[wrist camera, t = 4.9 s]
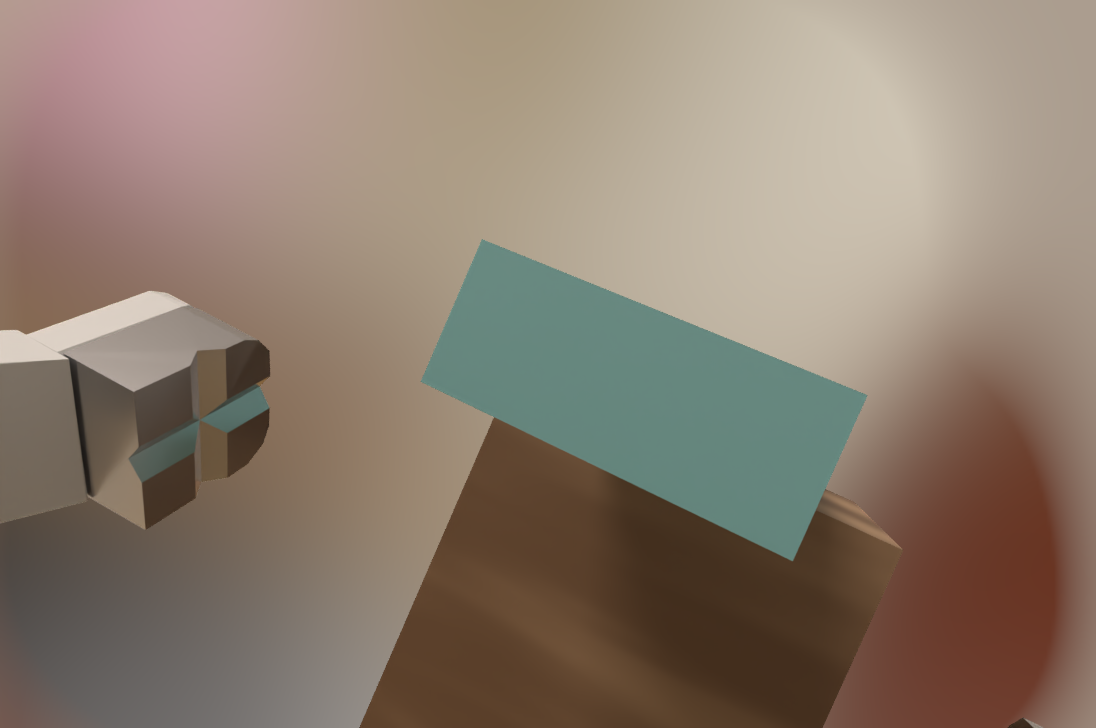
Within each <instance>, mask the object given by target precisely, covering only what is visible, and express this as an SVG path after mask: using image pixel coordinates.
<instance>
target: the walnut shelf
mask: <svg viewBox="0 0 1096 728" xmlns="http://www.w3.org/2000/svg"><path fill="white" fill-rule="evenodd" d="M902 551H903V549H902V548H900V547H899V546H898V545H897V544H896V543H895V542H894V541H893V540H892V539H891V538H890V537H889V536H888V535H887V534H886V533H885V532H884V531H883V530H882V529H881V528H880V527H879V526H878V525H877V524H876V523H875V522H874V521H873V520H872V519H871V518H870V517H869V516H868V515H867V514H866V513H865V512H864V511H862V509H861V508H860V507H859V506H858V505H857V504H856V503H854V502H853V501H851V500H848V499H846V498H844V497H842V496H839V495H837V494H835V493H833V492H831V491H828V490H826V489H825V491H824V493H823V495H822V497H821V500H820V502H819V504H818V506H817V508H816V511H815V513H814V515H813V517H812V520H811V522H810V524H809V526H808V528H807V531H806V533H805V535H804V537H803V539H802V542H801V544H800V546H799V548H798V551H797V553H796V555H795V557H794V559H793V561H791V560H789V559H787V558H785V557H783V556H781V555H779V554H777V553H775V552H773V551H770V550H768V549H766V548H764V547H762V546H760V545H758V544H756V543H754V542H752V541H750V540H748V539H746V538H744V537H741V536H739V535H737V534H735V533H733V532H731V531H729V530H727V529H725V528H723V527H721V526H719V525H717V524H715V523H712V522H710V521H708V520H706V519H704V518H702V517H700V516H698V515H696V514H694V513H692V512H690V511H688V510H686V509H683V508H681V507H679V506H677V505H675V504H673V503H671V502H669V501H667V500H665V499H663V498H661V497H659V496H657V495H654V494H652V493H650V492H648V491H646V490H644V489H642V488H640V487H638V486H636V485H634V484H632V483H630V482H628V481H625V480H623V479H621V478H619V477H617V476H615V475H613V474H611V473H609V472H607V471H605V470H603V469H601V468H599V467H596V466H594V465H592V464H590V463H588V462H586V461H584V460H582V459H580V458H578V457H576V456H574V455H572V454H570V453H567V452H565V451H563V450H561V449H559V448H557V447H555V446H553V445H551V444H549V443H547V442H545V441H543V440H541V439H538V438H536V437H534V436H532V435H530V434H528V433H526V432H524V431H522V430H520V429H518V428H516V427H514V426H512V425H509V424H507V423H505V422H503V421H501V420H499V419H497V418H495V417H494V419H493V421H492V424H491V426H490V428H489V430H488V433H487V435H486V437H485V439H484V442H483V444H482V446H481V449H480V451H479V453H478V456H477V458H476V460H475V463H474V465H473V467H472V470H471V472H470V474H469V476H468V479H467V481H466V483H465V486H464V488H463V490H462V493H461V495H460V497H459V500H458V502H457V504H456V506H455V509H454V511H453V513H452V515H451V518H450V520H449V523H448V525H447V528H446V529H445V532H444V534H443V536H442V539H441V541H440V543H439V545H438V548H437V550H436V552H435V555H434V557H433V559H432V562H431V564H430V566H429V569H428V571H427V573H426V575H425V578H424V580H423V582H422V585H421V587H420V589H419V592H418V594H417V596H416V598H415V601H414V603H413V605H412V608H411V610H410V612H409V615H408V617H407V619H406V621H405V624H404V626H403V629H402V631H401V633H400V635H399V638H398V640H397V642H396V644H395V647H394V649H393V651H392V654H391V656H390V658H389V661H388V663H387V665H386V668H385V670H384V672H383V675H382V677H381V679H380V681H379V684H378V686H377V688H376V691H375V693H374V695H373V698H372V700H371V702H370V704H369V707H368V709H367V712H366V714H365V716H364V718H363V721H362V723H361V725H360V727H359V728H823V725H824V723H825V721H826V719H827V717H828V714H829V712H830V710H831V708H832V706H833V703H834V701H835V699H836V697H837V694H838V692H839V690H840V688H841V686H842V683H843V681H844V679H845V677H846V675H847V672H848V670H849V668H850V666H851V664H852V662H853V659H854V657H855V655H856V653H857V651H858V648H859V646H860V644H861V642H862V639H863V637H864V635H865V633H866V631H867V629H868V626H869V624H870V622H871V620H872V618H873V615H874V613H875V611H876V609H877V606H878V604H879V602H880V600H881V598H882V595H883V593H884V591H885V589H886V587H887V585H888V582H889V580H890V578H891V576H892V574H893V571H894V569H895V567H896V565H897V563H898V560H899V558H900V556H901V554H902Z"/></svg>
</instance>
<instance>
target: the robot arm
mask: <svg viewBox="0 0 1096 728" xmlns="http://www.w3.org/2000/svg"><path fill="white" fill-rule="evenodd" d="M269 377H270V358H269V350H268V349H267V348H266V347H265V346H264V345H263V344H262V343H260V341H259V340H257V339H255V338H253V337H251V336H249V335H247V334H245V333H243V332H242V331H240V330H238V329H236V328H234V327H232V326H230V325H228V324H227V323H225V322H223V321H221V320H219V319H217V318H215V317H213V316H211V315H209V314H208V313H206V312H204V311H202V310H200V309H198V308H194V307H192V306H191V305H189V304H187V303H185V302H183V301H181V300H179V299H177V298H176V297H173V296H172V295H170V294H168V293H163V292H155V291H148V292H146V293H143V294H140V295H137V296H134V297H131V298H129V299H126V300H123V301H120V302H117V303H115V304H112V305H109V306H106V307H104V308H100V309H98V310H95V311H92V312H89V313H86V314H84V315H81V316H78V317H75V318H73V319H70V320H67V321H64V322H61V323H58V324H55V325H53V326H50V327H47V328H44V329H41V330H39V331H36V332H33V333H30V334H27V335H25V334H23V333H21V332H20V331H18V330H2V331H0V523H3V522H7V521H10V520H15V519H18V518H23V517H26V516H30V515H35V514H39V513H42V512H46V511H50V510H54V509H58V508H62V507H66V506H70V505H74V504H78V503H82V502H86V501H87V500H88V497H89V498H91V499H93V500H95V501H96V502H98V503H100V504H101V505H103V506H105V507H107V508H108V509H110V510H112V511H114V512H115V513H117V514H119V515H120V516H122V517H124V518H126V519H127V520H129V521H131V522H132V523H134V524H136V525H138V526H139V527H141V528H143V529H145V530H146V529H148V528H149V527H151V526H153V525H154V524H156V523H157V522H159V521H161V520H162V519H164V518H165V517H167V516H168V515H170V514H171V513H173V512H175V511H176V510H178V509H179V508H180V507H182V506H184V505H186V504H187V503H189V502H190V501H192V500H193V499H195V498H196V496H197V493H198V491H199V488H200V485H201V482H204V481H210V480H216V479H222V478H227V477H229V476H231V475H232V474H234V473H235V472H236V471H238V470H239V469H241V468H242V467H244V466H245V465H247V464H248V463H249V461H250V460H251V459H252V457H253V456H254V455H255V453H256V452H257V451H258V450H259V448H260V447H261V445H262V444H263V442H264V438H265V436H266V433H267V430H268V427H269V406H268V404H267V402H266V399H265V397H264V395H263V393H262V391H261V388H260V386H261V385H262V384H263V383H264V382H265V381H266V380H267V379H268V378H269ZM1008 728H1043V727H1041V726H1039V725H1037V724H1035V723H1033V722H1031V721H1029V720H1027V719H1025V718H1022V719H1020V720H1018V721H1017V722H1015V723H1013V724H1011V725H1010V726H1009V727H1008Z"/></svg>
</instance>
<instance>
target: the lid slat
mask: <svg viewBox="0 0 1096 728" xmlns="http://www.w3.org/2000/svg"><path fill="white" fill-rule="evenodd" d="M421 382H423V383H425V384H427V385H429V386H431V387H433V388H435V389H437V390H439V391H441V392H443V393H445V394H447V395H450V396H451V397H454V398H456V399H458V400H460V401H462V402H464V403H466V404H468V405H470V406H473V407H474V408H476V409H479V410H480V411H483V412H485V413H487V414H489V415H491V416H493V417H495V418H497V419H499V420H501V421H503V422H505V423H507V424H509V425H512V426H514V427H516V428H518V429H520V430H522V431H524V432H526V433H528V434H530V435H532V436H534V437H536V438H538V439H541V440H543V441H545V442H547V443H549V444H551V445H553V446H555V447H557V448H559V449H561V450H563V451H565V452H567V453H570V454H572V455H574V456H576V457H578V458H580V459H582V460H584V461H586V462H588V463H590V464H592V465H594V466H596V467H599V468H601V469H603V470H605V471H607V472H609V473H611V474H613V475H615V476H617V477H619V478H621V479H623V480H625V481H628V482H630V483H632V484H634V485H636V486H638V487H640V488H642V489H644V490H646V491H648V492H650V493H652V494H654V495H657V496H659V497H661V498H663V499H665V500H667V501H669V502H671V503H673V504H675V505H677V506H679V507H681V508H683V509H686V510H688V511H690V512H692V513H694V514H696V515H698V516H700V517H702V518H704V519H706V520H708V521H710V522H712V523H715V524H717V525H719V526H721V527H723V528H725V529H727V530H729V531H731V532H733V533H735V534H737V535H739V536H741V537H744V538H746V539H748V540H750V541H752V542H754V543H756V544H758V545H760V546H762V547H764V548H766V549H768V550H770V551H773V552H775V553H777V554H779V555H781V556H783V557H785V558H787V559H789V560H791V561H793V559H794V557H795V555H796V553H797V551H798V548H799V546H800V544H801V542H802V539H803V537H804V535H805V533H806V531H807V528H808V526H809V524H810V522H811V520H812V517H813V515H814V513H815V511H816V508H817V506H818V504H819V502H820V500H821V497H822V495H823V493H824V491H825V488H826V486H827V484H828V482H829V480H830V477H831V475H832V473H833V471H834V468H835V466H836V464H837V462H838V460H839V457H840V455H841V453H842V451H843V448H844V446H845V444H846V442H847V440H848V437H849V435H850V433H851V431H852V428H853V426H854V424H855V422H856V419H857V417H858V415H859V413H860V411H861V408H862V406H863V404H864V402H865V400H866V397H867V395H866V394H863V393H861V392H858V391H856V390H853V389H851V388H848V387H846V386H843V385H841V384H838V383H836V382H834V381H831V380H828V379H826V378H824V377H821V376H819V375H816V374H814V373H811V372H809V371H806V370H804V369H801V368H799V367H797V366H794V365H792V364H789V363H787V362H784V361H782V360H779V359H777V358H774V357H772V356H769V355H767V354H764V353H762V352H759V351H757V350H754V349H752V348H750V347H747V346H745V345H742V344H740V343H737V342H735V341H732V340H730V339H727V338H724V337H722V336H720V335H717V334H715V333H712V332H710V331H708V330H705V329H703V328H700V327H698V326H695V325H693V324H690V323H688V322H685V321H683V320H680V319H678V318H675V317H673V316H670V315H668V314H665V313H663V312H660V311H658V310H655V309H653V308H651V307H648V306H646V305H643V304H641V303H638V302H636V301H633V300H631V299H628V298H626V297H623V296H621V295H619V294H616V293H614V292H611V291H609V290H606V289H604V288H601V287H599V286H596V285H594V284H591V283H589V282H586V281H584V280H581V279H578V278H576V277H574V276H571V275H569V274H567V273H564V272H562V271H559V270H557V269H554V268H552V267H549V266H547V265H544V264H542V263H539V262H537V261H534V260H532V259H529V258H527V257H525V256H522V255H519V254H517V253H515V252H512V251H510V250H507V249H505V248H502V247H500V246H497V245H495V244H492V243H490V242H487V241H485V240H483V239H482V241H481V243H480V245H479V248H478V250H477V252H476V255H475V257H474V259H473V262H472V264H471V266H470V268H469V271H468V273H467V275H466V278H465V280H464V282H463V285H462V287H461V289H460V292H459V294H458V297H457V299H456V301H455V303H454V306H453V308H452V310H451V313H450V315H449V317H448V320H447V322H446V324H445V327H444V329H443V331H442V334H441V336H440V338H439V341H438V343H437V345H436V348H435V350H434V352H433V355H432V357H431V359H430V361H429V364H428V366H427V368H426V371H425V373H424V375H423V378H422V380H421Z"/></svg>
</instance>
